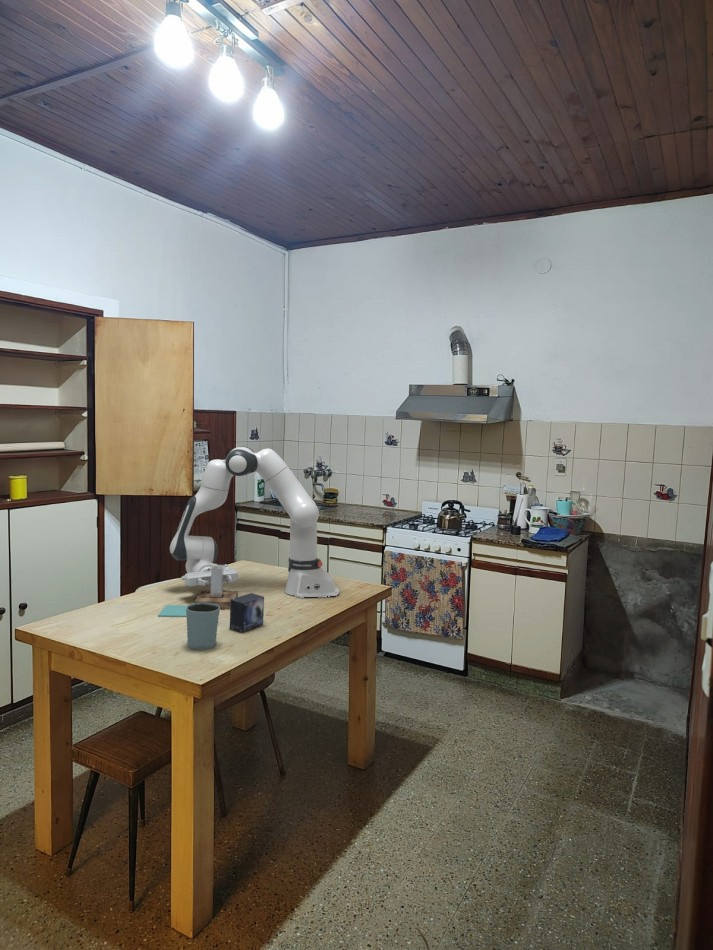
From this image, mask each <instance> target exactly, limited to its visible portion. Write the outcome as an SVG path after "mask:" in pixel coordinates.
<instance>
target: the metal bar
mask: <svg viewBox="0 0 713 950" xmlns="http://www.w3.org/2000/svg"><path fill="white" fill-rule="evenodd" d="M223 569H224V567H220V566H213V567H212V568H211V585H210V591H211V598H223V591H224V583H223Z"/></svg>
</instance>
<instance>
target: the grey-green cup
mask: <svg viewBox="0 0 713 950" xmlns="http://www.w3.org/2000/svg"><path fill="white" fill-rule="evenodd" d="M187 605H188V606H187V607H186V616H187V617H186V630H187V631H186V637H187V640H186V642H187V643H186V644H187V647H188V648H190V649H192V650H199V651H200V650H207V649H211V648H213V647H215V646H216V643H217V635H218V634H217V632H218V624H219V616H220V612H221V611H220V606H219V605H217V604H214V603H205V602H203V603H195V602H194V603H190V604H187Z"/></svg>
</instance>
